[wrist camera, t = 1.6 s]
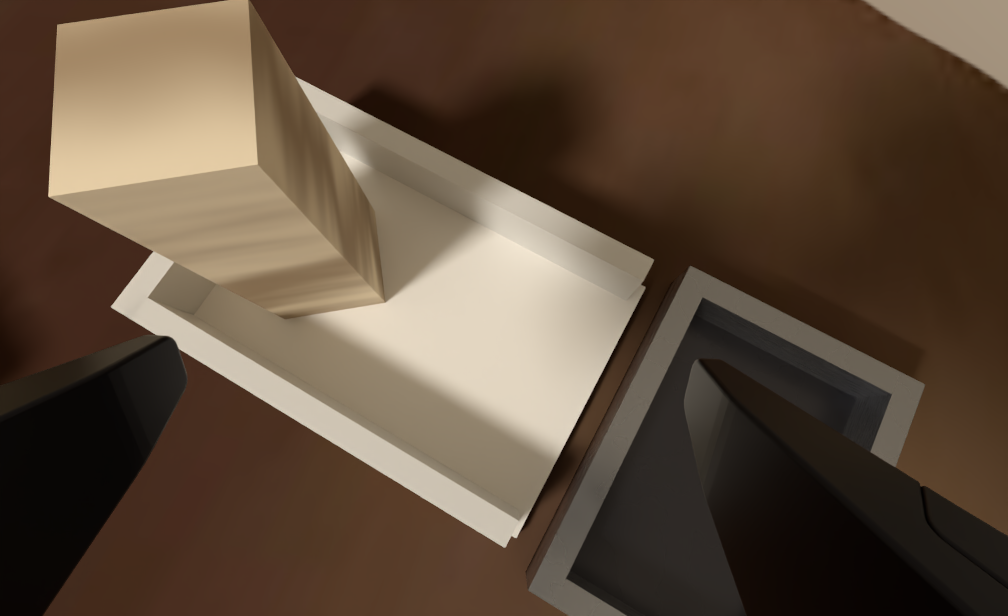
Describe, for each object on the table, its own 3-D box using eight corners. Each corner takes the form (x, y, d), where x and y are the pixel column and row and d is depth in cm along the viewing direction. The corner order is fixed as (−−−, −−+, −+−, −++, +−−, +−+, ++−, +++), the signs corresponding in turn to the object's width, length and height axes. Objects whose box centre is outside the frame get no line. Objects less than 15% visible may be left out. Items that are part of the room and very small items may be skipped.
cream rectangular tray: (516, 535, 21) (517, 555, 17) (170, 326, 23) (110, 306, 20) (642, 291, 23) (666, 265, 20) (319, 123, 26) (290, 74, 22)
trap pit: (755, 713, 19) (791, 753, 17) (525, 572, 21) (528, 590, 18) (879, 389, 22) (925, 384, 20) (671, 282, 24) (690, 265, 21)
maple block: (385, 302, 23) (257, 164, 11) (284, 319, 23) (48, 196, 11) (374, 211, 24) (248, -3, 12) (278, 226, 24) (57, 24, 12)
